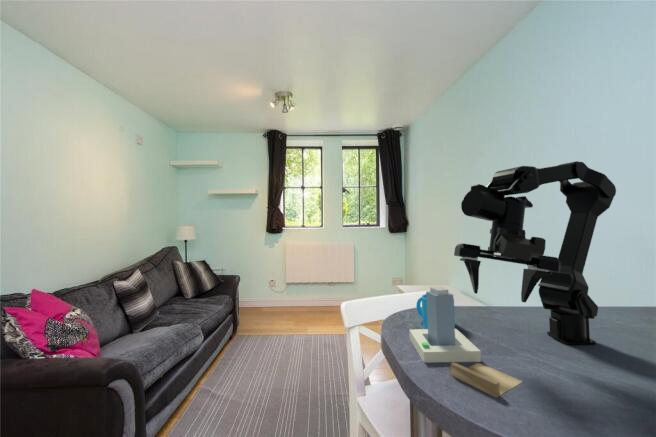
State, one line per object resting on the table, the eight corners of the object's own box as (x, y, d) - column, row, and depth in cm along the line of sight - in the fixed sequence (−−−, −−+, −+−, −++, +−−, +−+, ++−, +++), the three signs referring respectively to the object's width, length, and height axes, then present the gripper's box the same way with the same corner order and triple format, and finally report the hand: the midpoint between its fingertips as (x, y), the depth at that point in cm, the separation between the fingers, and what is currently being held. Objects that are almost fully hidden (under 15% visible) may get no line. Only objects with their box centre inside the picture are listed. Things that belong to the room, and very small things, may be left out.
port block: (456, 341, 68) (456, 326, 68) (481, 366, 56) (480, 348, 56) (409, 342, 68) (409, 327, 68) (424, 367, 56) (423, 349, 56)
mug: (462, 329, 75) (460, 298, 75) (439, 335, 72) (438, 303, 72) (428, 316, 86) (427, 289, 86) (406, 321, 83) (405, 293, 83)
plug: (445, 348, 64) (442, 286, 65) (455, 356, 60) (452, 289, 61) (428, 350, 64) (426, 287, 64) (438, 358, 60) (435, 291, 60)
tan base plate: (478, 367, 55) (477, 352, 56) (523, 387, 49) (522, 369, 49) (451, 380, 51) (450, 363, 51) (496, 403, 45) (495, 384, 45)
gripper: (470, 214, 56) (460, 294, 55) (581, 228, 52) (573, 315, 51) (457, 220, 67) (449, 287, 66) (548, 232, 63) (541, 304, 61)
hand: (499, 297), depth 61 cm, fingers open, 9 cm apart
